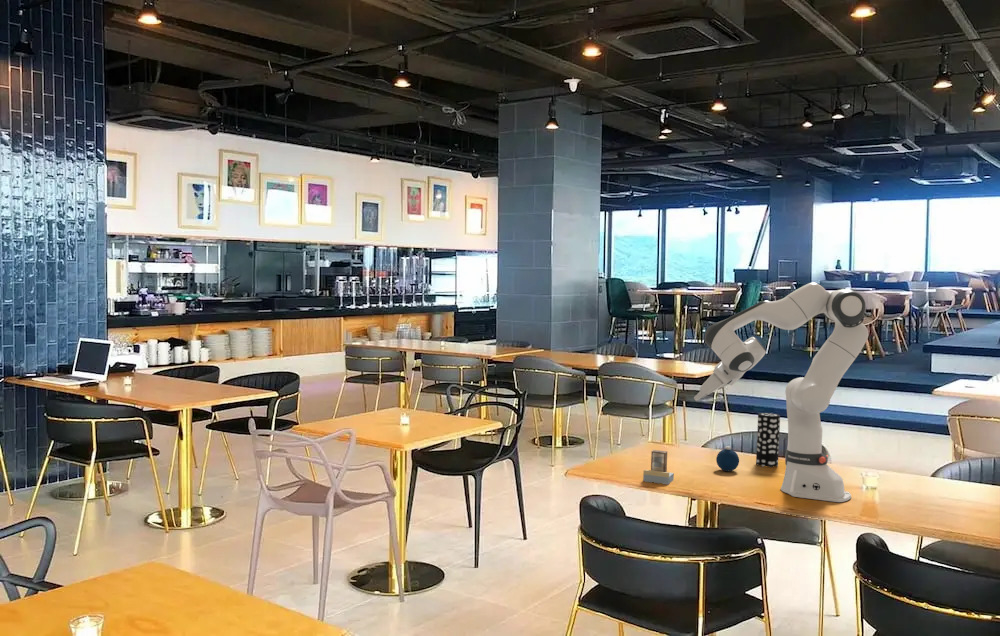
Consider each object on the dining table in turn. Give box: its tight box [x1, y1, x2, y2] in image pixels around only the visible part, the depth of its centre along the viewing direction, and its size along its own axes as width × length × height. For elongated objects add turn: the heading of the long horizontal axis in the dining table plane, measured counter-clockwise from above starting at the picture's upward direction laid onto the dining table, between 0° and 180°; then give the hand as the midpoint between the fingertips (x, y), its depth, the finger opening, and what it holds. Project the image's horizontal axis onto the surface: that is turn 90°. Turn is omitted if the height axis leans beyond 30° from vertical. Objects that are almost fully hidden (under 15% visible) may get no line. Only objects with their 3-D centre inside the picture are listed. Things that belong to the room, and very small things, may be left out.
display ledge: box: [642, 469, 675, 485], centre depth 300 cm, size 9×8×4 cm
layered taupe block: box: [650, 449, 668, 472], centre depth 300 cm, size 5×3×8 cm, turn 66°
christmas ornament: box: [715, 445, 740, 472], centre depth 319 cm, size 8×8×10 cm
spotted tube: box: [755, 412, 781, 468], centre depth 332 cm, size 8×8×20 cm
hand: (697, 398), depth 304 cm, fingers open, 8 cm apart
